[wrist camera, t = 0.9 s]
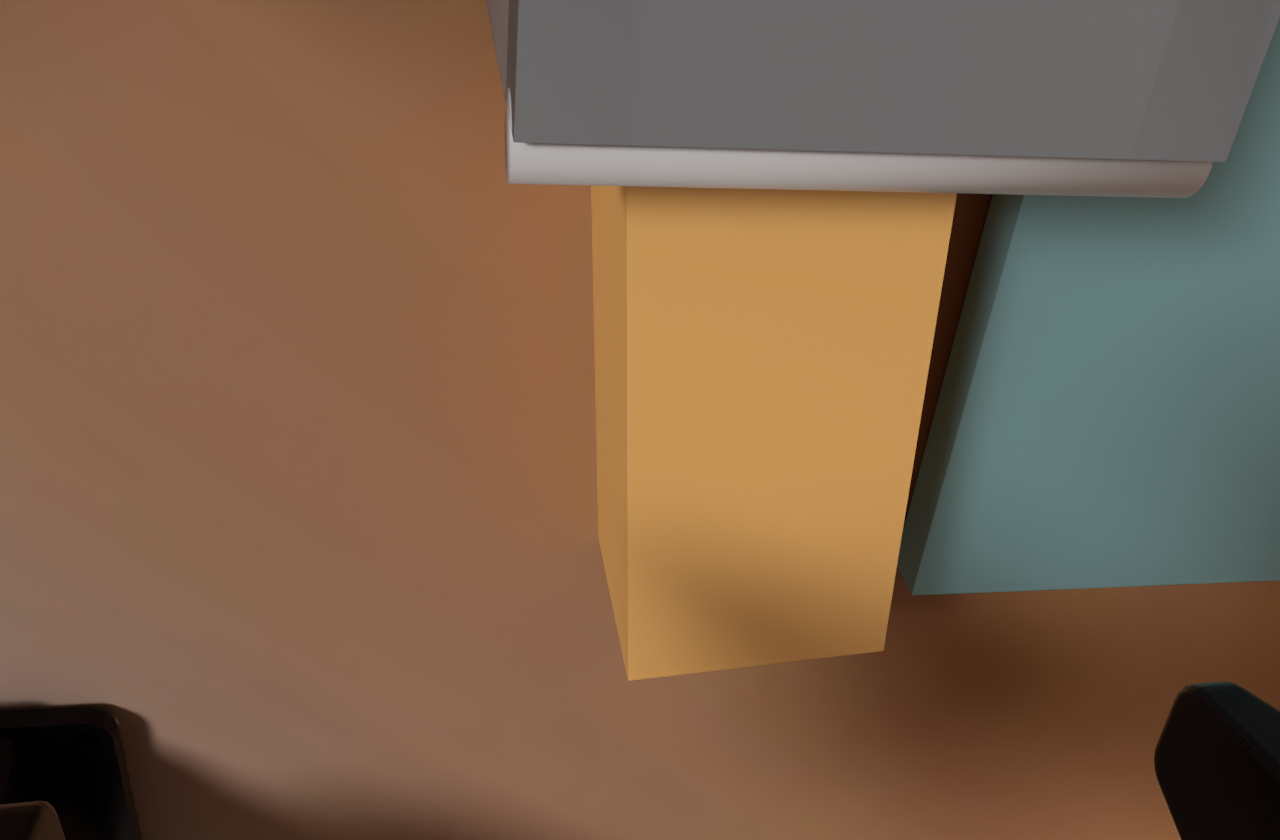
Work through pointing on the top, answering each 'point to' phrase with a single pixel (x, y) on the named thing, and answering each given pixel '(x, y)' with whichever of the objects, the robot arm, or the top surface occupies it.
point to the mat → (1114, 389)
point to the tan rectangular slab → (758, 415)
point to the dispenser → (878, 93)
